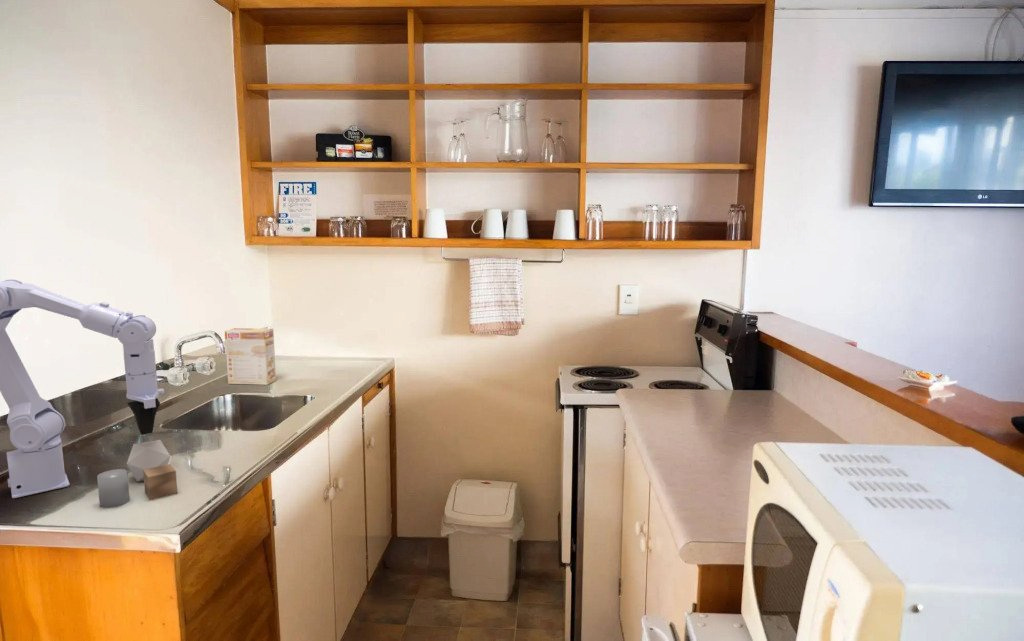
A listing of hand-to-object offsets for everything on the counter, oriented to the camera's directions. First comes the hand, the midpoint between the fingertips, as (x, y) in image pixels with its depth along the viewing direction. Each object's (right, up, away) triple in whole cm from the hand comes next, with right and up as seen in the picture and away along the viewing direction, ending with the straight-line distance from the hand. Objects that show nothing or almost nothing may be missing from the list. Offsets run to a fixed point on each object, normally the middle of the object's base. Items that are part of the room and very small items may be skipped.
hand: (146, 433), depth 132 cm
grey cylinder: (+1, -12, -11) cm, 16 cm away
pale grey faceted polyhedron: (0, -10, +1) cm, 10 cm away
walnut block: (+7, -11, -7) cm, 15 cm away
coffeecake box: (-14, +2, +87) cm, 88 cm away
